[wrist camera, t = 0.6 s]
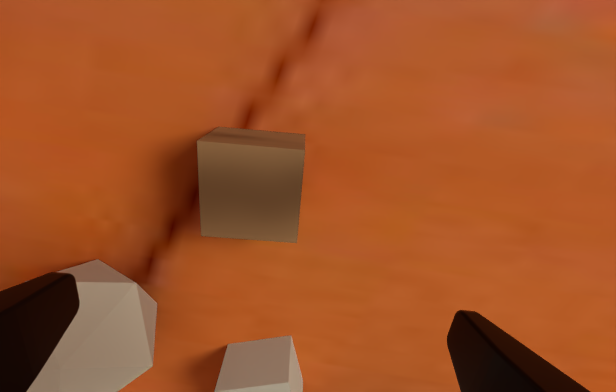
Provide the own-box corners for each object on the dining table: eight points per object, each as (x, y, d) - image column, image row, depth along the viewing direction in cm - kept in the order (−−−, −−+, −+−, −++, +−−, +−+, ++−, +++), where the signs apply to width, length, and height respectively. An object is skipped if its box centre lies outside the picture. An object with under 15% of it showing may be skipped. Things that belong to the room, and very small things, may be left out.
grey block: (302, 379, 26) (302, 430, 22) (244, 386, 26) (234, 438, 22) (291, 334, 24) (288, 382, 20) (228, 342, 24) (214, 391, 21)
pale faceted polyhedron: (33, 277, 23) (-23, 445, 18) (1, 225, 16) (-101, 464, 11) (157, 280, 26) (140, 419, 21) (170, 237, 20) (150, 422, 15)
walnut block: (298, 211, 20) (296, 242, 16) (220, 205, 20) (201, 235, 16) (305, 133, 18) (305, 149, 15) (219, 126, 18) (196, 140, 14)
